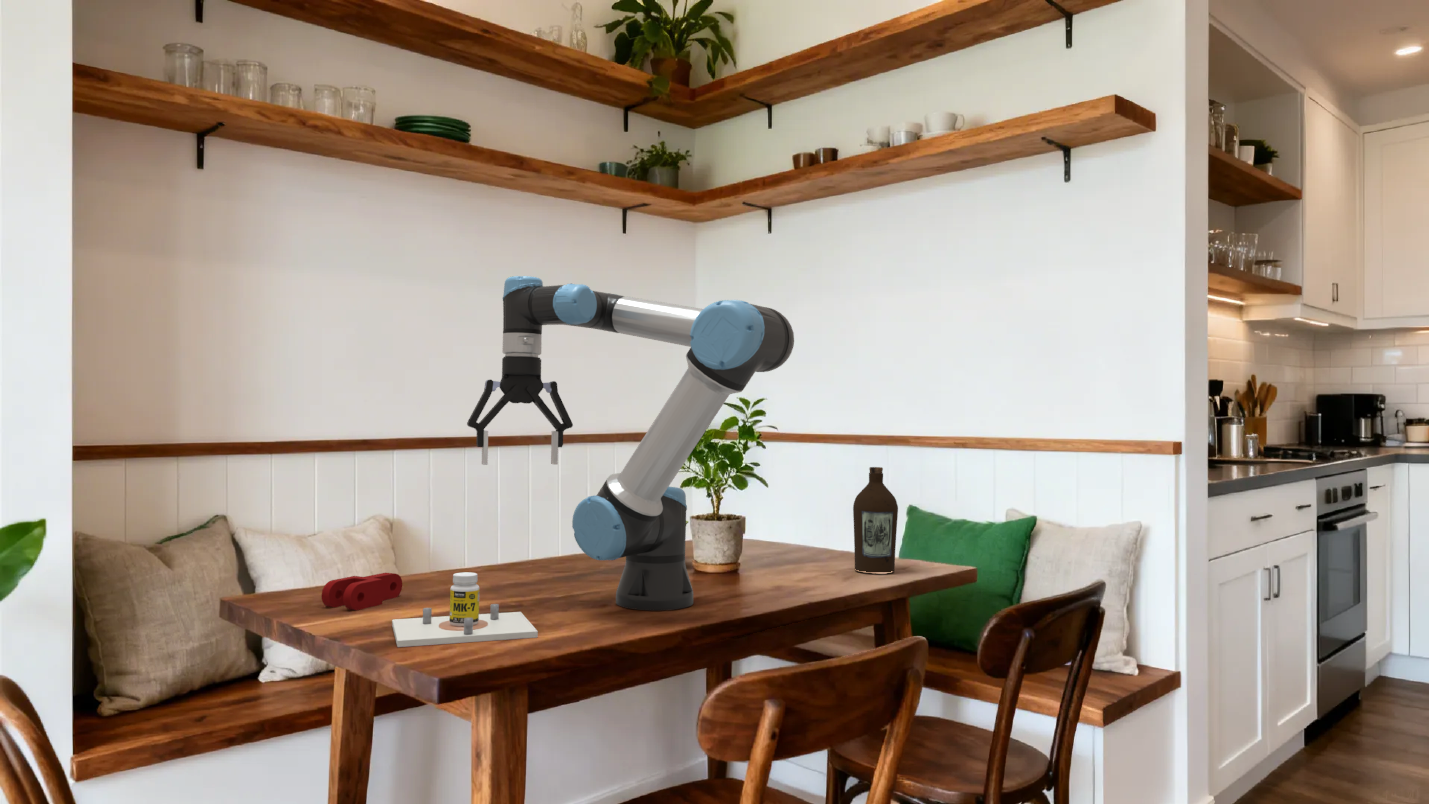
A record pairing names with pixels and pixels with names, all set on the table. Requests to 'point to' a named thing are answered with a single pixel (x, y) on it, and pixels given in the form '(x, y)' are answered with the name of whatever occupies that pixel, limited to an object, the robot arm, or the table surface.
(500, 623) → the pin plate
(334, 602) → the mechanical linkage
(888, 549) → the olive oil
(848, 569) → the table surface
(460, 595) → the supplement bottle
